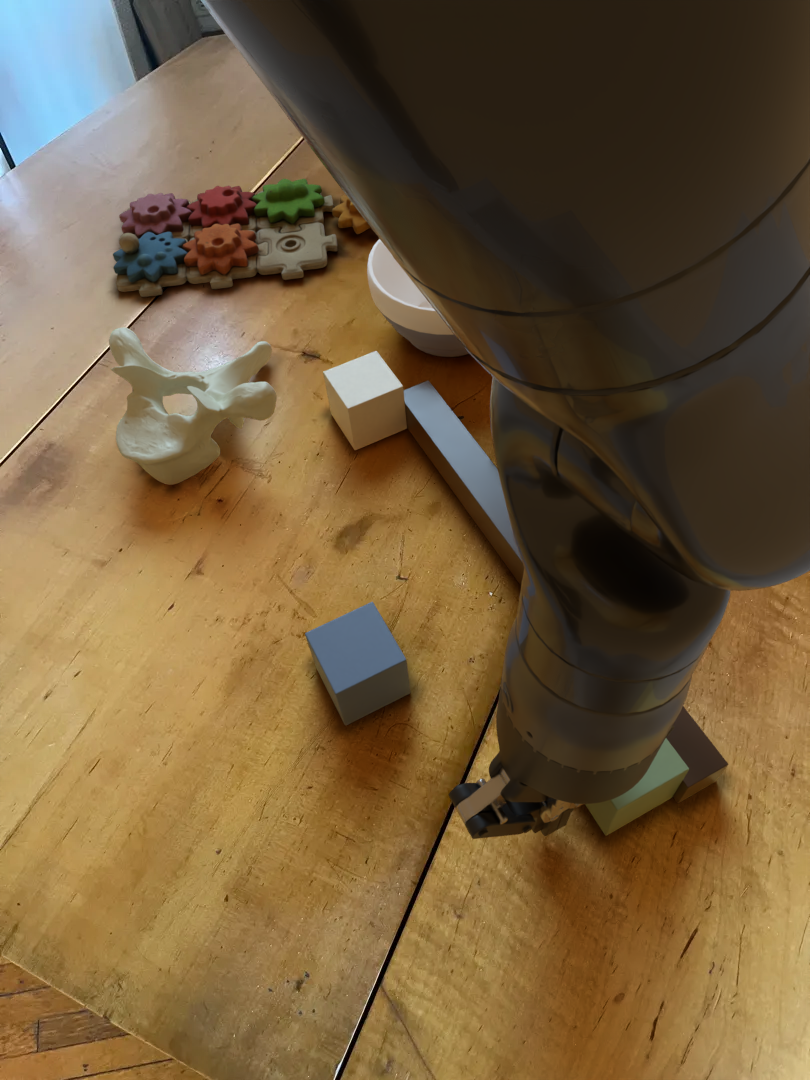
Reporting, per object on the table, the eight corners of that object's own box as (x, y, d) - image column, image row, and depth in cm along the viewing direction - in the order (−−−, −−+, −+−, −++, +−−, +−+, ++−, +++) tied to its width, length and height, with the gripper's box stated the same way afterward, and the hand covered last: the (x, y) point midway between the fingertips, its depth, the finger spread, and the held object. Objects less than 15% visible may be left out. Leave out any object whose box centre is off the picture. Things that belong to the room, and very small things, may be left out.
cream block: (354, 451, 69) (347, 408, 65) (330, 414, 72) (322, 371, 68) (407, 428, 70) (403, 386, 66) (381, 393, 73) (376, 350, 69)
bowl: (361, 294, 81) (353, 226, 75) (503, 267, 82) (506, 198, 76) (390, 394, 73) (383, 327, 66) (548, 363, 74) (555, 294, 67)
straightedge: (677, 804, 50) (688, 787, 48) (399, 417, 71) (397, 392, 68) (716, 781, 51) (729, 764, 49) (429, 405, 72) (428, 379, 69)
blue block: (345, 726, 55) (335, 694, 51) (315, 667, 57) (304, 632, 53) (411, 693, 56) (406, 659, 52) (379, 636, 58) (372, 600, 54)
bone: (275, 359, 77) (255, 285, 70) (295, 469, 68) (274, 395, 61) (132, 388, 76) (99, 315, 69) (134, 503, 67) (96, 432, 60)
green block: (605, 836, 50) (617, 811, 45) (559, 766, 52) (566, 735, 48) (672, 797, 51) (690, 769, 47) (624, 730, 53) (636, 698, 49)
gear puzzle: (401, 179, 92) (398, 144, 89) (417, 266, 83) (415, 230, 80) (127, 212, 92) (114, 178, 89) (112, 303, 83) (97, 269, 79)
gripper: (502, 835, 32) (482, 931, 46) (767, 689, 35) (673, 820, 49) (413, 681, 36) (419, 812, 50) (658, 563, 39) (599, 717, 53)
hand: (545, 816), depth 49 cm, fingers closed
